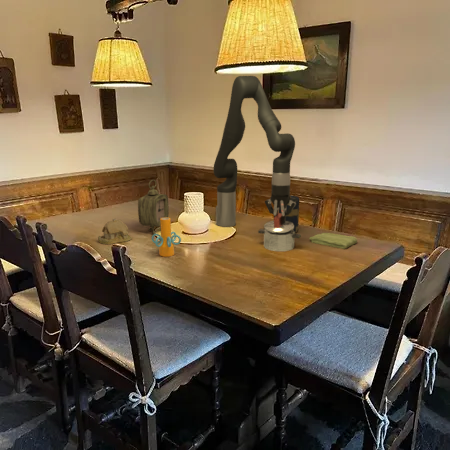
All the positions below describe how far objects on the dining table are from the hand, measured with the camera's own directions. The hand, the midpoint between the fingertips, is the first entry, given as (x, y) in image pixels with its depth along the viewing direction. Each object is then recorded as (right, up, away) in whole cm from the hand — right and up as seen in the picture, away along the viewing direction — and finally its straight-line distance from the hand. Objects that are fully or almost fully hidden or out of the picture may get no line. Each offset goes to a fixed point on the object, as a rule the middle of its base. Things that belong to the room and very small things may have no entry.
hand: (279, 223), depth 180 cm
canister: (+7, -4, +25) cm, 26 cm away
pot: (0, -10, +3) cm, 10 cm away
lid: (0, -2, 0) cm, 2 cm away
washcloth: (+25, -9, +8) cm, 27 cm away
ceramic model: (-72, -8, +12) cm, 74 cm away
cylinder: (-47, -13, -7) cm, 49 cm away
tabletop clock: (-57, -4, +26) cm, 63 cm away
